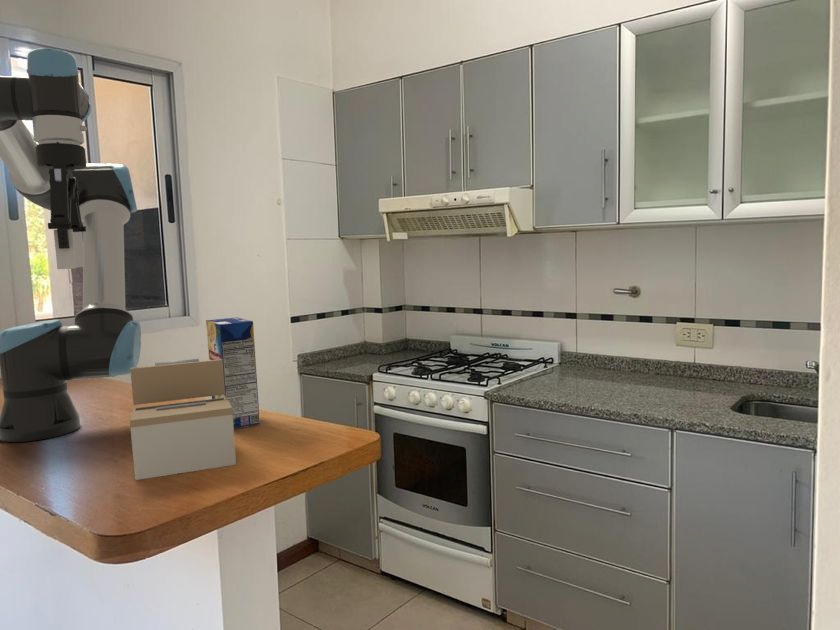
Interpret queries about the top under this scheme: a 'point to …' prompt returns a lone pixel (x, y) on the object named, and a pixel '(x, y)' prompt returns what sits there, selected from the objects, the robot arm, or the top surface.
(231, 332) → the beverage box
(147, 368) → the rear flap
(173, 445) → the carton
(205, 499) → the top surface
